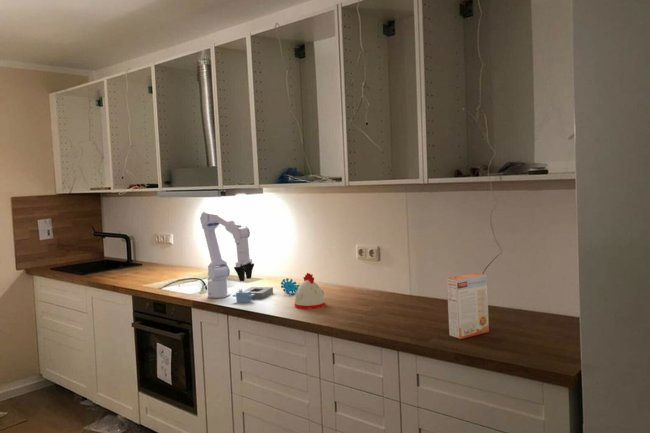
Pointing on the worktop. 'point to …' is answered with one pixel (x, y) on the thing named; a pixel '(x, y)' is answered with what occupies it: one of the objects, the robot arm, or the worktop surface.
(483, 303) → the cracker box
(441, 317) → the worktop surface
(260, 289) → the chassis
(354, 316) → the worktop surface
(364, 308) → the worktop surface
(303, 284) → the white and red dome
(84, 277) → the worktop surface
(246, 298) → the servo
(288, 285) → the gear
